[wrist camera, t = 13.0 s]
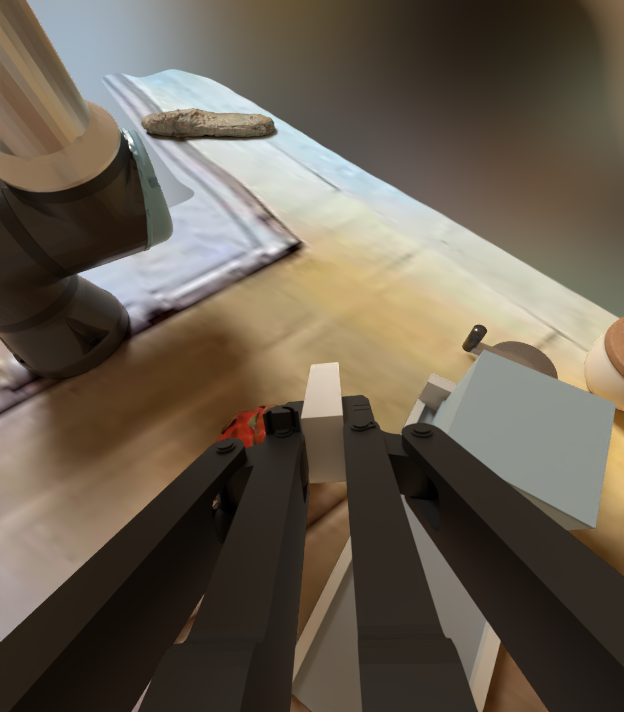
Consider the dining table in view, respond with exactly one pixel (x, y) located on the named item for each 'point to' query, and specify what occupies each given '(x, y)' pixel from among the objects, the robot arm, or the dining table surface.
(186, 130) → the elongated rock
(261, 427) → the dragon fruit
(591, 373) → the lidded jar
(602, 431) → the grey tall block
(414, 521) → the bay
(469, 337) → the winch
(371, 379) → the dining table surface
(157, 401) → the dining table surface
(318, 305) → the dining table surface
